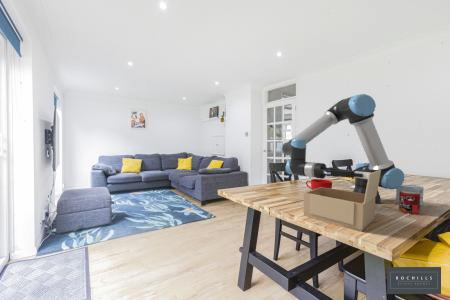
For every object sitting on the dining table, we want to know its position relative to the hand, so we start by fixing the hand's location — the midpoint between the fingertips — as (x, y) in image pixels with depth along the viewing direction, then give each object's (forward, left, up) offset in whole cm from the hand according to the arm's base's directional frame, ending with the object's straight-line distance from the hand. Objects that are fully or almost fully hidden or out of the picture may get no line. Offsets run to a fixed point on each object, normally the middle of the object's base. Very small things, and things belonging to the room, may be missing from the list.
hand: (372, 176), depth 87 cm
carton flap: (-1, -1, -4) cm, 4 cm away
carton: (+8, -10, -21) cm, 25 cm away
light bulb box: (-47, -38, -21) cm, 64 cm away
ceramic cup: (0, -53, -21) cm, 57 cm away
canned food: (-33, -21, -21) cm, 44 cm away
